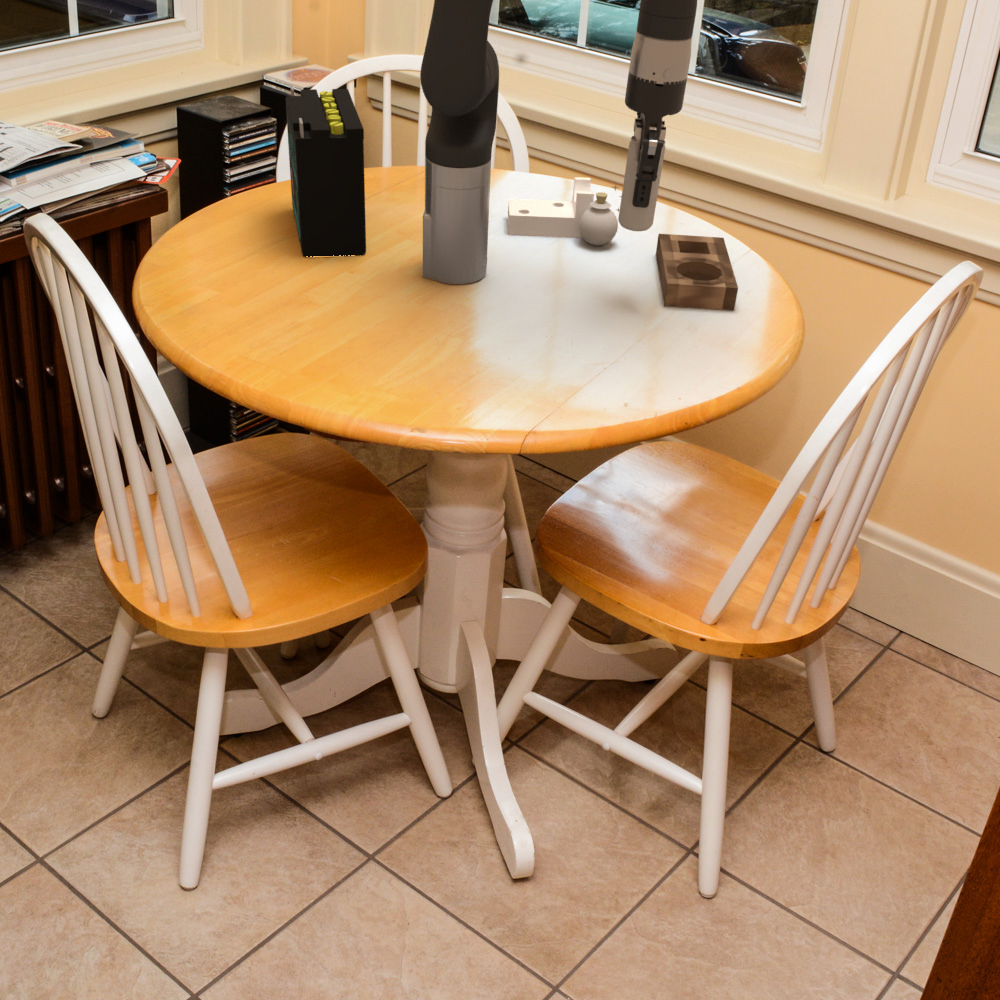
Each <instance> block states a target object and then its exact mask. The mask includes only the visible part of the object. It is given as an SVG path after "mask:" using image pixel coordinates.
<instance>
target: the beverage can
mask: <svg viewBox="0 0 1000 1000" xmlns="http://www.w3.org/2000/svg"><path fill="white" fill-rule="evenodd" d="M663 143H664V144H663V147H662V152H661V160H660V162H659V166H658V171H657V179H656V181H655V182H654V181H652V188H651V194H650V200H649V205H648V207H646V208H641V207H634V206H633V204H632V200H633V193H634V186H635V173H636V168H637V162H636V161H635V160H634V152H635V144H636V138H635V135H634V134H633V135H632V136H631V137H630V141H629V143H628V149H627V158H626V165H625V171H624V178H623V184H622V191H621V196H622V197H620V198H621V199H620V205H619V210H620V211H619V212H618V218H617V221H618V224H619V225H620V226H621V227H622V228H624V229H625V230H629V231H631V232H644V231H648V230H649V229H651V227H652V226H653V224H654V218H655V213H656V206H657V201H658V195H659V188H660V181H661V177H662V170H663V164H664V158H665V152H666V145H665V144H666V141H665V139H664V140H663ZM639 153H640V155H641V149H639ZM642 171H651V166H644V167H643V170H642Z"/></svg>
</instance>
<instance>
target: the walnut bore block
mask: <svg viewBox="0 0 1000 1000" xmlns="http://www.w3.org/2000/svg"><path fill="white" fill-rule="evenodd" d="M655 259H656V265H657V271H658V277H659V283H660V289H661V290H660V291H661V295H662V301H663V306H664V307H669V308H670V307H671V308H672V307H673V308H690V309H703V310H719V311H733V312H734V311H735V307H736V301H737V296H738V292H739V290H738V289H739V286H738V282H737V279H736V277H735V276H736V275H735V272H734V269H733V265H732V263H731V259H730V255H729V253H728V248H727V245H726V241H725V238H724V237H717V236H705V235H704V236H703V235H702V236H701V235H687V234H685V235H684V234H670V233H669V234H667V233H658V236H657V243H656V250H655Z"/></svg>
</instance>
